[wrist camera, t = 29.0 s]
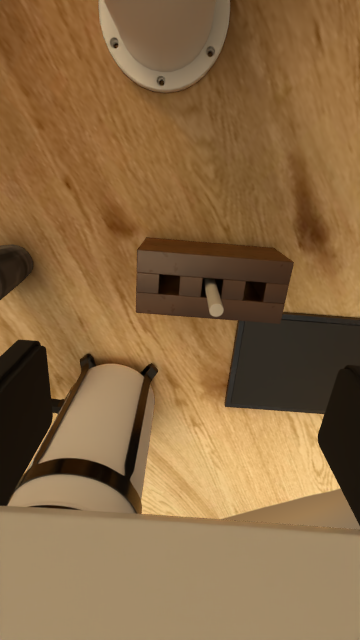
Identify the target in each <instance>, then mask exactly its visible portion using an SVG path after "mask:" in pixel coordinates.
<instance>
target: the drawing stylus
mask: <svg viewBox="0 0 360 640" xmlns="http://www.w3.org/2000/svg"><path fill="white" fill-rule="evenodd" d="M203 279H204V285H205V290H206V296H207V301H208V307H209V312H210V314H211V315H212V316H214V317H218V316H220V315H222V313H223V311H224V309H223V305H222V302H221V299H220V295H219V292H218V288H217V285H216V282H215V279H214V278H203Z"/></svg>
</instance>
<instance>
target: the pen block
mask: <svg viewBox="0 0 360 640" xmlns="http://www.w3.org/2000/svg"><path fill="white" fill-rule="evenodd" d="M293 264H294V262H293V261H291V260H290V259H288V258H287V257H286V256H284V255H283V254H282V253H280V252H279V251H278V250H276V249H275V248H269V247H257V246H245V245H232V244H220V243H208V242H196V241H183V240H171V239H159V238H146V239H145V240H144V242H143V243H142V244H141V246H140V247H139V248H138V250H137V286H136V313H148V314H161V315H174V316H186V317H199V318H212V319H225V320H238V321H250V322H263V323H276V324H280V323H281V318H282V314H283V309H284V303H285V300H286V295H287V290H288V286H289V285H288V284H289V282H290V277H291V273H292V268H293ZM163 274H164V275H163ZM174 275H177V276H174ZM203 278H214V279H215V282H216V285H217V288H218V292H219V295H220V299H221V302H222V305H223V309H224V311H223V313H222V315H220V316H218V317H214V316H212V315H211V314H210V312H209V307H208V301H207V296H206V290H205V285H204V279H203ZM249 281H250V282H249Z"/></svg>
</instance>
